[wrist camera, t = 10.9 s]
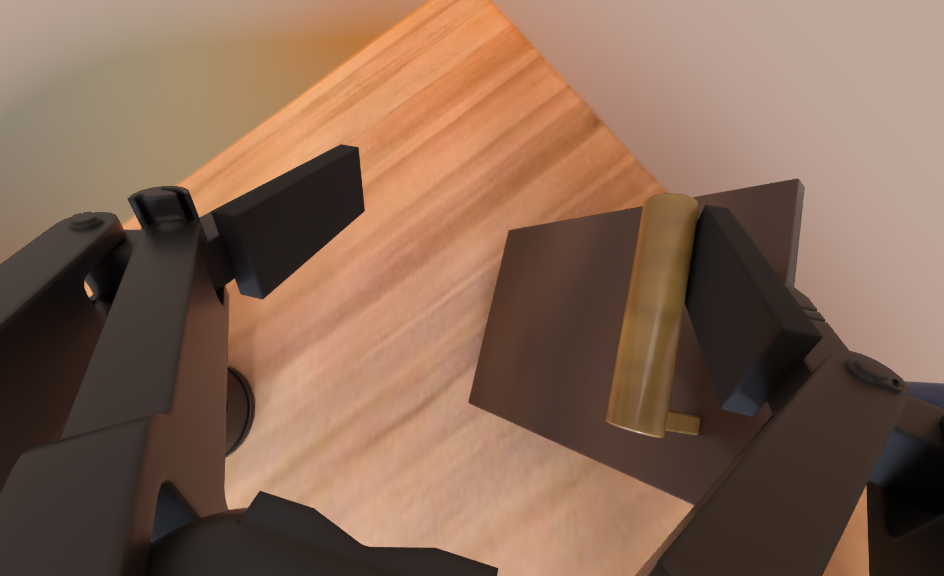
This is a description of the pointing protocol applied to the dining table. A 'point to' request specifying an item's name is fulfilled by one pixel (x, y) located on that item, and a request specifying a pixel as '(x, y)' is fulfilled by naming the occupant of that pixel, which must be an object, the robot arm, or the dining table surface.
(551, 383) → the chest door
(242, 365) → the dining table surface
